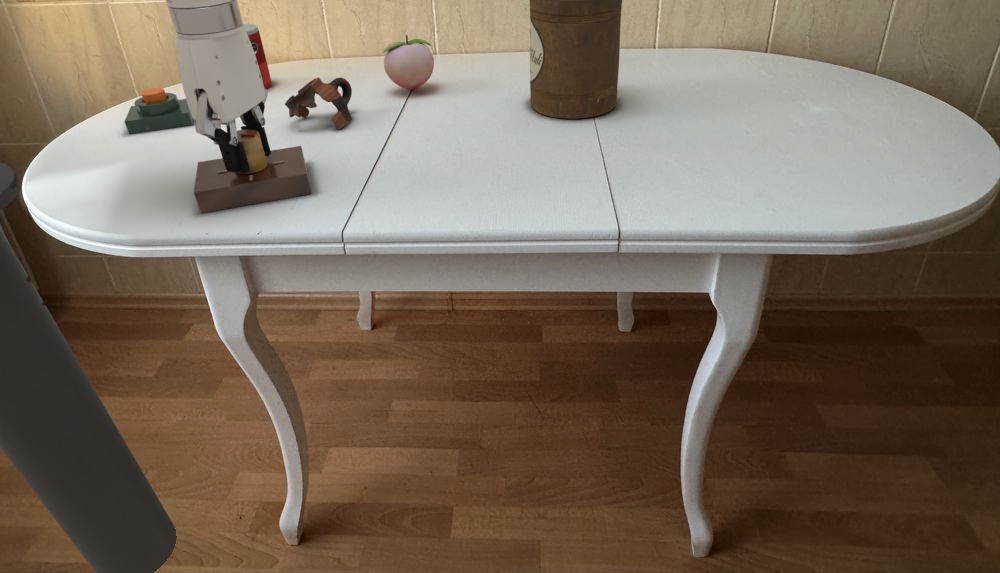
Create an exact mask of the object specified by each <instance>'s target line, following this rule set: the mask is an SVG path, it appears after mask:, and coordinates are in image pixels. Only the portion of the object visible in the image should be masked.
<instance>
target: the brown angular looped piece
mask: <svg viewBox="0 0 1000 573" xmlns="http://www.w3.org/2000/svg"><path fill="white" fill-rule="evenodd" d="M339 88H341V92H342V94H341V92H339ZM352 90H353V88H352V86H351V84H350V82H349V81H348V80H347V79H346V78H344V77H336V78H334V79H333V80H331V81H330V82H328V83H327V82H323V81H322V80H321V78H320V77H315V78H313V79H311V80H310V81H309V82H308V83H306V84H305V85H303V87H301V88H300V89H299V90H298V91H297V94H296V95H295V94H294V95H293V94H292V95H291V96H290V97H289V98H288V99H286V101H285V103H284V106H286V107H287V109H288V111H289V112H288V114H289V118H293V117H297V118H302V119H307V118H308V116H309V114H310V110H309V109H315V108H316V107H318V105H317V103H316V99H315V98H316V97H315V96H316V95H317V96H319V97H320V98H321V100H323V101H325V102H327V103H331V104H332V105H334V107H335V108H336V110H337V112H336V113H335V114H333V116H331V119H330V120H331V121H332V122H333V123H334V124H335V126H336V128H337V130H341V129H342V128H344V127H345V126H346V125H347V124H348V123H349V122H350V121H351V120H352V119H353V117H352V115H351V113H350V110H349V106H348V105H349V103H350V101H351V98H352V95H353V94H352V93H353V91H352ZM308 108H309V109H308Z"/></svg>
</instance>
